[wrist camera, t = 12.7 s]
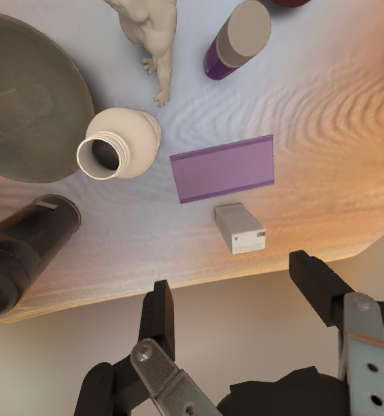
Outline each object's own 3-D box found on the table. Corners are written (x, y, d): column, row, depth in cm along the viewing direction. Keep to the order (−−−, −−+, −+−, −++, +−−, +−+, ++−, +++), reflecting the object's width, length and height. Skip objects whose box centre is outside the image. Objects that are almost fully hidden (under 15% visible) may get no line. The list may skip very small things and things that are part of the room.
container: (220, 86, 36) (252, 68, 22) (197, 68, 34) (217, 36, 20) (236, 59, 34) (282, 22, 21) (214, 39, 33) (246, -16, 19)
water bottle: (147, 102, 35) (108, 78, 13) (169, 140, 38) (170, 177, 15) (112, 124, 36) (17, 139, 13) (136, 160, 39) (91, 222, 16)
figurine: (112, -31, 28) (37, -228, 12) (161, -37, 29) (152, -238, 12) (143, 112, 36) (122, 109, 20) (181, 106, 36) (192, 98, 20)
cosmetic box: (215, 223, 46) (230, 257, 35) (214, 205, 45) (229, 234, 33) (242, 219, 47) (265, 251, 36) (242, 201, 45) (266, 229, 34)
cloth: (180, 203, 44) (180, 204, 43) (169, 156, 39) (169, 156, 39) (273, 183, 44) (274, 184, 44) (272, 134, 40) (273, 134, 39)
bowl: (-16, 20, 29) (-100, -24, 20) (121, 67, 33) (103, 49, 24) (-7, 151, 36) (-66, 163, 27) (106, 178, 40) (87, 196, 31)
